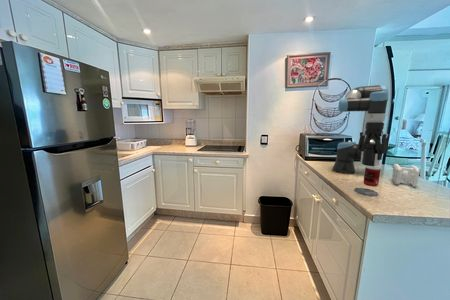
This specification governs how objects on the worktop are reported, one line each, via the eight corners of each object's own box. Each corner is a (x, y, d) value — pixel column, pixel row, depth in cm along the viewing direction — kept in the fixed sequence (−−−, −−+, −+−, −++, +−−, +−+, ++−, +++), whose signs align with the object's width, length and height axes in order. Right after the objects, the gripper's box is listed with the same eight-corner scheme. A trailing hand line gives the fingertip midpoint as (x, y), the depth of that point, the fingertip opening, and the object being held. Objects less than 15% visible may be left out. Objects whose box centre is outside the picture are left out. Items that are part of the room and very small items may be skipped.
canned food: (376, 183, 122) (378, 166, 120) (380, 187, 115) (382, 169, 113) (361, 181, 125) (364, 165, 123) (364, 185, 118) (367, 168, 116)
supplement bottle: (358, 163, 107) (361, 142, 105) (369, 163, 108) (372, 142, 106) (368, 166, 101) (371, 144, 99) (380, 166, 101) (383, 144, 99)
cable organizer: (417, 189, 112) (420, 170, 110) (393, 185, 118) (396, 167, 116) (411, 182, 124) (414, 164, 122) (390, 179, 130) (393, 162, 128)
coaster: (349, 189, 111) (349, 188, 111) (363, 187, 114) (363, 186, 114) (367, 197, 100) (368, 196, 100) (383, 194, 103) (383, 193, 103)
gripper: (352, 121, 109) (348, 160, 112) (390, 122, 90) (383, 169, 94) (362, 121, 111) (357, 159, 115) (401, 122, 92) (394, 168, 96)
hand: (369, 163), depth 104 cm, fingers closed on supplement bottle, 7 cm apart
